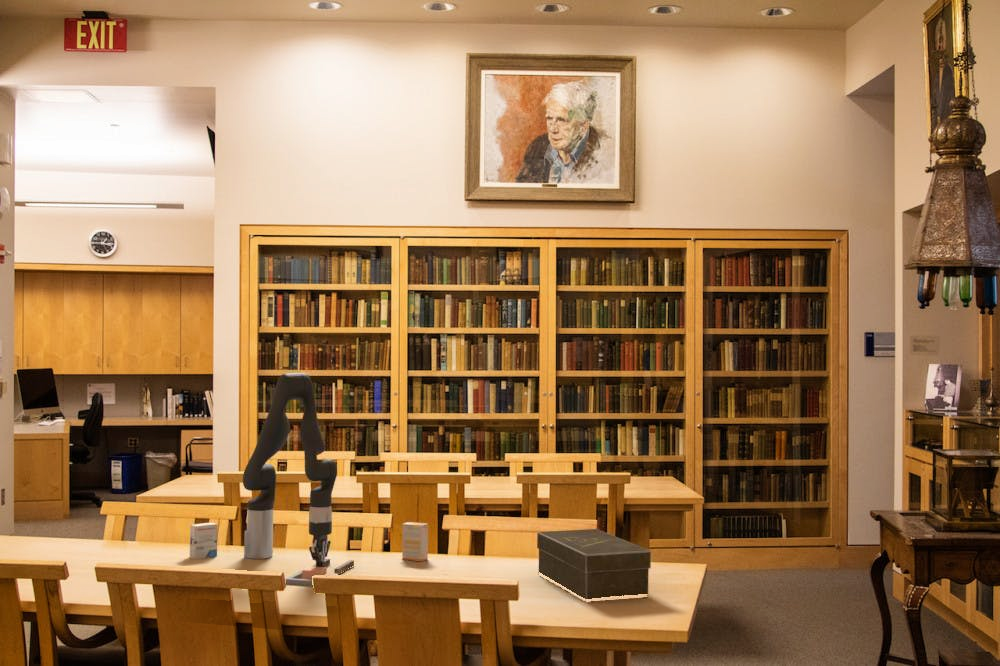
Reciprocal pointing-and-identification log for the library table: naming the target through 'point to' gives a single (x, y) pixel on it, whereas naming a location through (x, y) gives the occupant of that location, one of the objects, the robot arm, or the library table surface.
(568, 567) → the box
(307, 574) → the terracotta block
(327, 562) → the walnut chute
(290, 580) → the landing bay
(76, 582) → the library table surface
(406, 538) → the supplement box
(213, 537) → the ink box
